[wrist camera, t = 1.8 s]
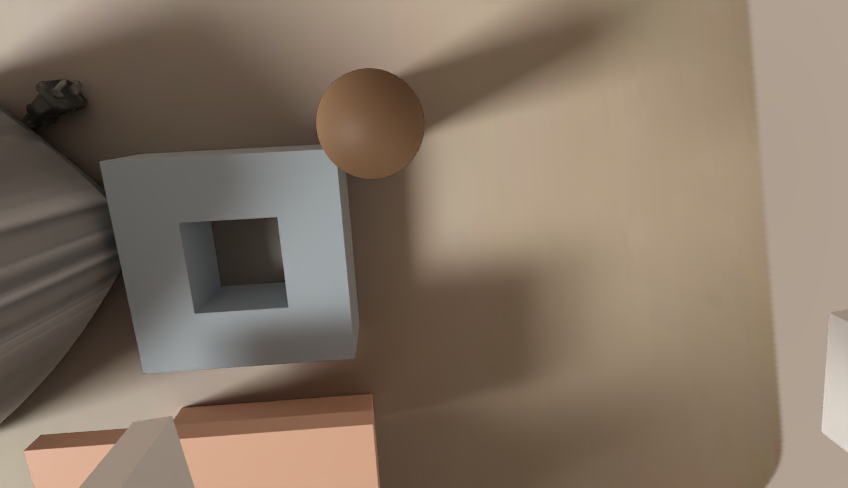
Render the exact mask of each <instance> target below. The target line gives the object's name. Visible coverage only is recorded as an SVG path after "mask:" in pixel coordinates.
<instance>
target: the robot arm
mask: <svg viewBox="0 0 848 488" xmlns="http://www.w3.org/2000/svg"><path fill="white" fill-rule="evenodd" d="M821 432H822V433H824V434H825V435H826V436H827V437H829V438H830V439H831V440H832V441H834V442H835V443H836V444H838V445H839V446H840V447H841V448H843V449H844V450H845V451H847V452H848V310H844V311H837V312H831V313H829V329H828V341H827V357H826V370H825V386H824V401H823V416H822V430H821ZM79 488H195V487H194V484H193V481H192V477H191V474H190V471H189V468H188V465H187V462H186V459H185V455H184V452H183V449H182V446H181V443H180V440H179V436H178V433H177V430H176V427H175V424H174V421H173V418H172V416H169V417H163V418H157V419H150V420H144V421H137V422H133V423H132V424H131V425H130V427H129V428H128V429H127V430H126V431H125V433H124V434H123V435H122V436H121V437H120V439H119V440H118V441H117V442H116V444H115V445H114V446H113V447H112V448H111V450H110V451H109V452H108V453H107V454H106V456H105V457H104V458H103V459H102V460H101V462H100V463H99V464H98V465H97V466H96V468H95V469H94V470H93V471H92V472H91V474H90V475H89V476H88V477H87V478H86V480H85V481H84V482H83V483H82V485H81V486H80V487H79Z"/></svg>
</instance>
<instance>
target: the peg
mask: <svg viewBox="0 0 848 488" xmlns="http://www.w3.org/2000/svg"><path fill="white" fill-rule="evenodd" d="M316 129H317V135H318V138H319V142H320V144H321V146H322V149H323V150H324V152H325V154H326V155H327V156H328V158H329V159H330V160H331V161H332V162H333V163H334V164H335V165H336V166H337V167H339V168H340V169H341V170H343V171H345V172H346V173H348V174H351V175H353V176H356V177H360V178H366V179H377V178H383V177H387V176H390V175H393V174H395V173H397V172H398V171H400V170H401V169H403V168H404V167H405V166H407V165H408V164H409V163H410V162H411V160H412V159H413V158H414V157H415V155H416V153H417V152H418V150H419V148H420V145H421V143H422V139H423V135H424V115H423V111H422V107H421V105H420V102H419V100H418V98H417V96H416V94H415V93H414V92H413V90H412V89H411V88H410V87H409V86H408V84H407V83H405V82H404V81H403V80H402V79H400V78H399V77H397V76H396V75H394V74H392V73H390V72H387V71H384V70H380V69H373V68H365V69H358V70H354V71H351V72H349V73H346V74H344V75H343V76H341V77H339V78H338V79H337V80H335V81H334V82H333V83H332V84H331V85H330V86H329V87H328V89H327V90H326V92H325V93H324V95H323V97H322V98H321V101H320V103H319V106H318V110H317V117H316Z"/></svg>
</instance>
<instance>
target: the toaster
mask: <svg viewBox="0 0 848 488" xmlns="http://www.w3.org/2000/svg"><path fill="white" fill-rule="evenodd" d="M81 86H82V84H81V83H80V82H79V81H75V82H74V83H71V82H70V81H68V80H65V79H64V80H53V81H41V82H40V83H39V84H38V85H37V86H36V88H37V91H38V92H39V95H38V96H37V97H36V99H35V100H34V101H33V102H32V103H31V104H28V105H27V115H26V116H24V118H23V119H22V120H21V121H20V120H19V119H17V118H16V117H15V116H13V115H12V114H11V113H10V112H8V111H7V110H6V109H5V108H3V107H2V106H0V423H2V422H3V421H4V420H5V419H6V418H7V417H8V416H9V415H10V414H11V413H12V412H13V411H14V410H16V409H17V408H18V407H19V406H20V405H21V404H22V403H23V402H24V401H25V400H26V399H27V398H28V396H29V395H30V394H31V393H32V392H33V391H34V390H35V389H36V388H37V387H38V386H39V385H40V384H41V383H42V382H43V381H44V379H45V378H46V377H47V376H48V375H49V374H50V373H51V371H52V370H53V369H54V368H55V367H56V366H57V364H58V363H59V362H60V361H61V359H62V358H63V357H64V356H65V355H66V353H67V352H68V351H69V349H70V348H71V347H72V345H73V344H74V343H75V341H76V340H77V339H78V337H79V336H80V335H81V333H82V332H83V330H84V329H85V327H86V326H87V324H88V323H89V321H90V320H91V318H92V317H93V315H94V314H95V312H96V311H97V309H98V308H99V306H100V304H101V302H102V301H103V299H104V298H105V296H106V295H107V293H108V291H109V290H110V288H111V286H112V285H113V283H114V281H115V280H116V278H117V276H118V274H119V273H120V271H121V264H120V260H119V255H118V250H117V245H116V240H115V236H114V231H113V226H112V221H111V216H110V212H109V207H108V202H107V197H106V192H105V190H104V189H103V188H102V187H101V186H99V185H98V184H97V183H96V182H95V181H93V180H92V179H91V178H90V177H89V176H88V175H86V174H85V173H84V172H83V171H82V170H81V169H79V168H78V167H77V166H76V165H75V164H73V163H72V162H71V161H70V160H69V159H67V158H66V157H65V156H64V155H62V154H61V153H60V152H59V151H58V150H56V149H55V148H54V147H53V146H51V145H50V144H49V143H48V142H46V141H45V140H44V139H43V138H41V137H40V136H39V135H38V134H36V133H35V132H36V131H37V130H38V129H39V127H41V126H45V125H49V124H54V123H55V122H56V120H57V118H58V117H59V116H60V115H62V114H66V113H67V112H68V111H70V112H72V111H73V110H74V109H76V110H78V109H82V108H84V107H86V106H87V100H86V98H85V97H84V96H83V95H82V94H81V93H80V88H81Z"/></svg>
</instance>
